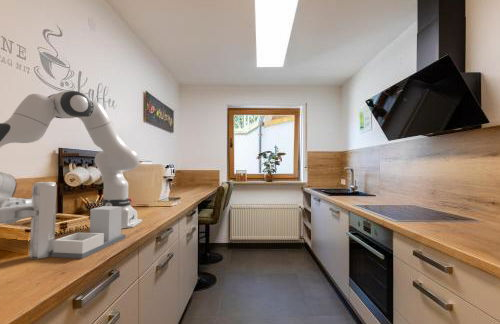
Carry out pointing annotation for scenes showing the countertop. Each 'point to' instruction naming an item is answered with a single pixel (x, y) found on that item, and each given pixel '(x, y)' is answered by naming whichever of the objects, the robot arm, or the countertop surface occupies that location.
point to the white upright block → (43, 219)
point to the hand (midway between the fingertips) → (46, 211)
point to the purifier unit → (92, 234)
